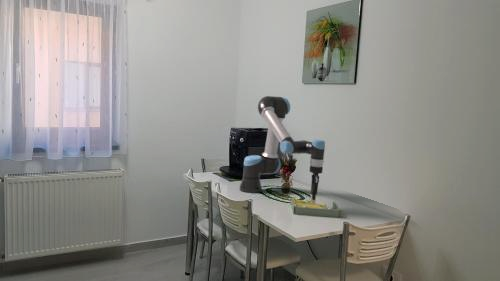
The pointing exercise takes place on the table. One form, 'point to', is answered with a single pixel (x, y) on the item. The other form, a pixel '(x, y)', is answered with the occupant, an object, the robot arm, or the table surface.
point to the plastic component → (307, 204)
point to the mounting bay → (316, 210)
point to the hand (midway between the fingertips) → (312, 204)
